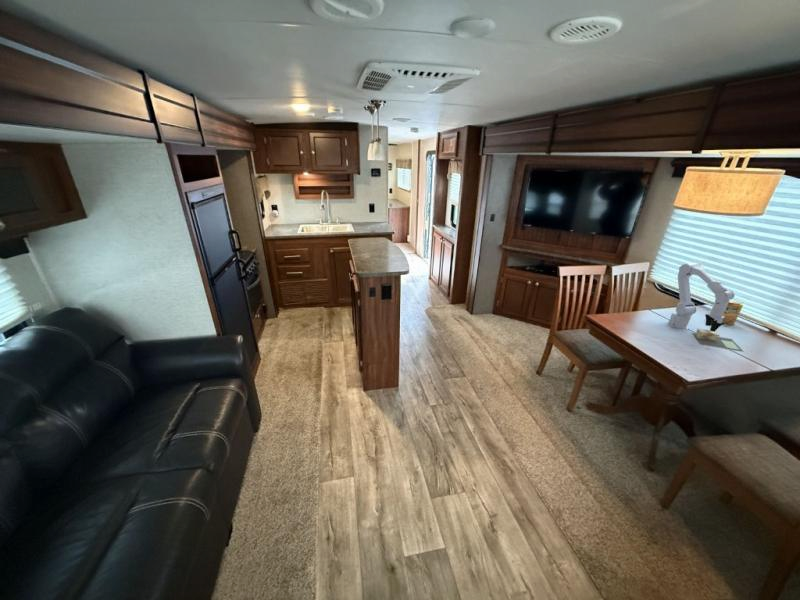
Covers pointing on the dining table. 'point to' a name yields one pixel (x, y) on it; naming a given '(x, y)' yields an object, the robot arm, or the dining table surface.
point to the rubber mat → (719, 343)
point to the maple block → (707, 334)
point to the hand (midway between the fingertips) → (710, 328)
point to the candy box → (732, 312)
